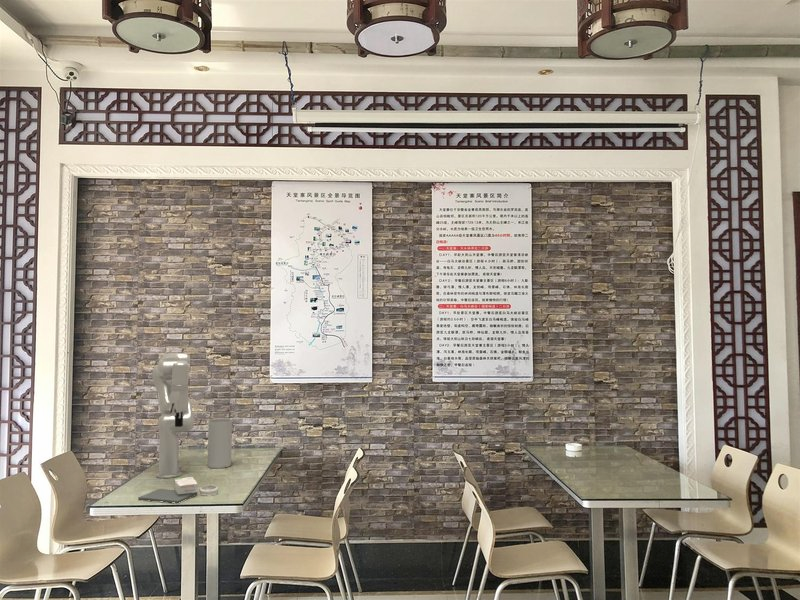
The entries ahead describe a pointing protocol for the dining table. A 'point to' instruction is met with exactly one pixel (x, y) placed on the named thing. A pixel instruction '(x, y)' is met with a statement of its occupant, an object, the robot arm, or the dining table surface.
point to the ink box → (185, 485)
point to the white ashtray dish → (208, 490)
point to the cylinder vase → (219, 443)
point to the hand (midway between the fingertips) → (178, 426)
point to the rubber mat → (166, 496)
